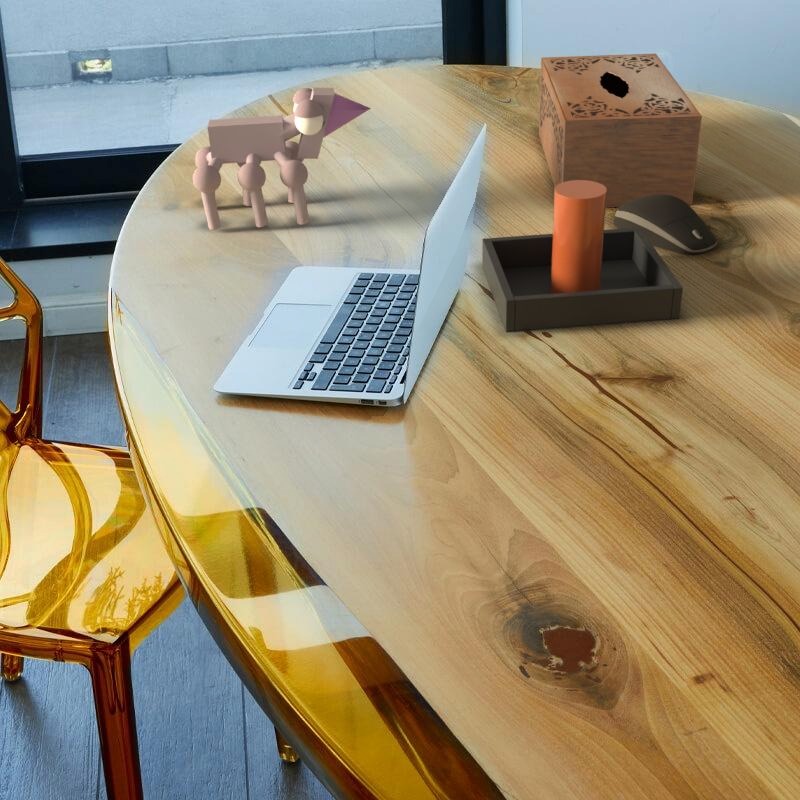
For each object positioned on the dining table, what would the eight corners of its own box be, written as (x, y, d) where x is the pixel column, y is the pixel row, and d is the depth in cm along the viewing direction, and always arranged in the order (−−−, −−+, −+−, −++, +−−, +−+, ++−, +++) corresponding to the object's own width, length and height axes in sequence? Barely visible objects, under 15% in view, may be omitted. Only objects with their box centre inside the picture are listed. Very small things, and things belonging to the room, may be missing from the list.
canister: (593, 278, 103) (599, 178, 98) (605, 299, 99) (612, 196, 94) (546, 281, 103) (549, 181, 98) (556, 303, 99) (560, 200, 94)
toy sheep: (373, 190, 127) (367, 74, 120) (379, 225, 118) (373, 102, 111) (202, 202, 126) (186, 85, 119) (196, 238, 117) (177, 114, 110)
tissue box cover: (691, 204, 120) (701, 116, 114) (561, 209, 120) (565, 120, 115) (649, 131, 141) (655, 53, 136) (538, 134, 142) (541, 57, 137)
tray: (637, 262, 108) (640, 227, 106) (678, 326, 96) (683, 287, 94) (482, 273, 107) (482, 238, 105) (505, 339, 95) (506, 300, 93)
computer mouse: (680, 267, 106) (684, 230, 104) (598, 228, 115) (600, 192, 113) (731, 250, 109) (736, 213, 107) (647, 213, 118) (650, 178, 116)
